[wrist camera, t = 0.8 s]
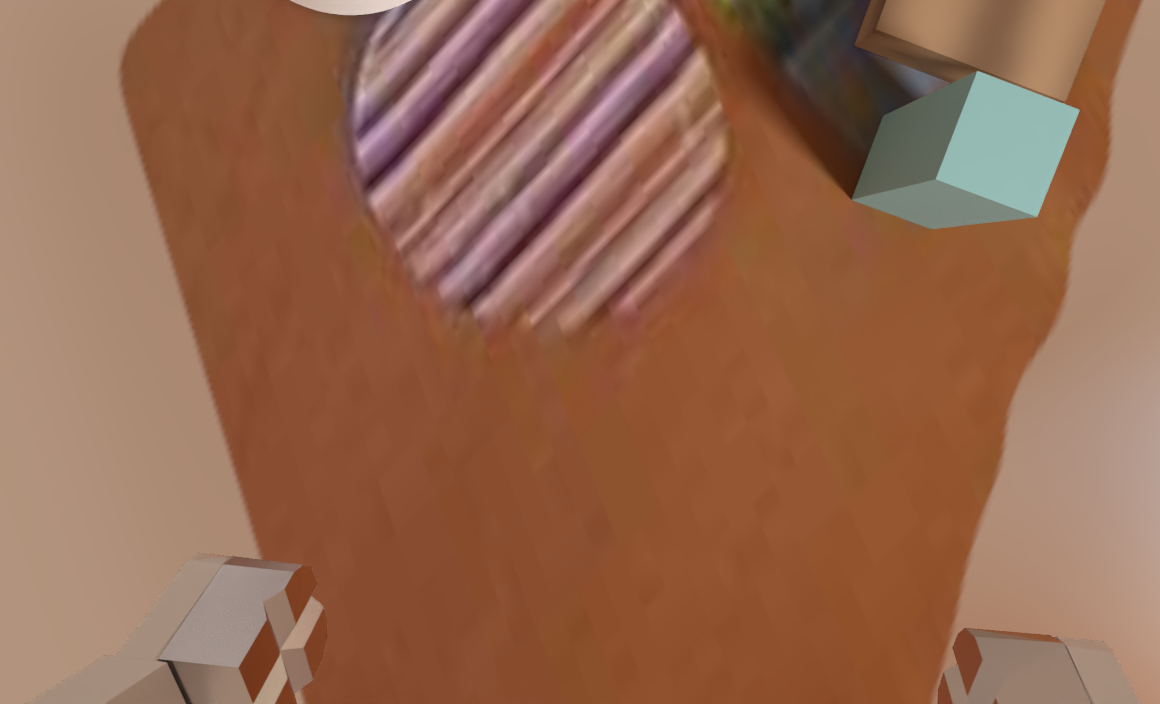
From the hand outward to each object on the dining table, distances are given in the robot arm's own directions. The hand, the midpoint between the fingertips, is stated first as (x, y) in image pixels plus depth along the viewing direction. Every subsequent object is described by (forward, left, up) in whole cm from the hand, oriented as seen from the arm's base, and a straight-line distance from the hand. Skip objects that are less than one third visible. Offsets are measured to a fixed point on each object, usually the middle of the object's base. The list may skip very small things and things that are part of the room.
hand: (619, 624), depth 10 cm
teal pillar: (-7, +21, -36) cm, 42 cm away
